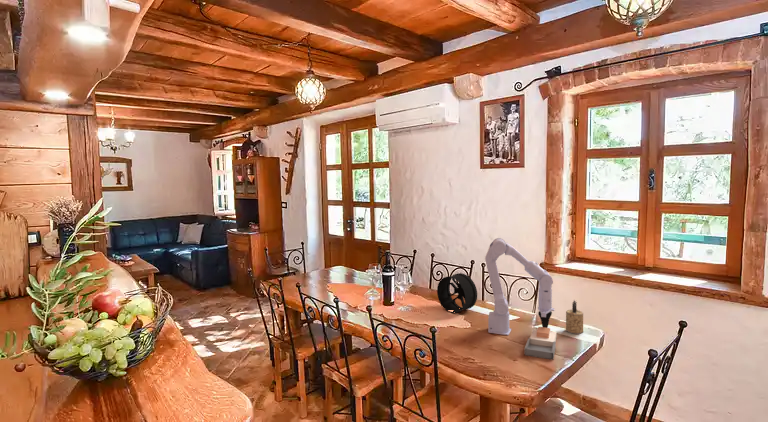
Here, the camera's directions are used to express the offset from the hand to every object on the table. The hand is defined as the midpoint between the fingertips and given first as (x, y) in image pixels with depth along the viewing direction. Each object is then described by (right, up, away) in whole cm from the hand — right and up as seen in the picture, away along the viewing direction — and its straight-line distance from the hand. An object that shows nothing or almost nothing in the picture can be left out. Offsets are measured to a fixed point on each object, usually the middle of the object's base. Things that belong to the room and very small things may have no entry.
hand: (545, 327), depth 189 cm
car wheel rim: (-34, -1, +36) cm, 50 cm away
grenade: (+15, -3, +3) cm, 15 cm away
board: (-4, -4, -7) cm, 9 cm away
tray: (-9, -5, -18) cm, 20 cm away
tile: (-3, -1, -6) cm, 7 cm away
